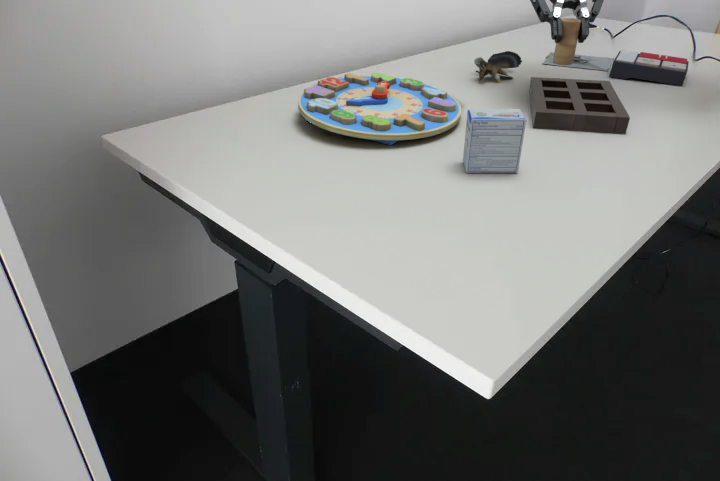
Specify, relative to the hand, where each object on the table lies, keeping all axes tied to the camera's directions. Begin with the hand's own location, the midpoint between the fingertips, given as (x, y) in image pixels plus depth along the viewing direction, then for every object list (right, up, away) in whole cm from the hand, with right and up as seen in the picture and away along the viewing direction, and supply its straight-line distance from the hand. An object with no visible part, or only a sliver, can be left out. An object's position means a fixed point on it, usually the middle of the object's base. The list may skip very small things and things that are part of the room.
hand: (570, 40), depth 96 cm
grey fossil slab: (+12, +9, +39) cm, 42 cm away
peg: (0, -3, +4) cm, 5 cm away
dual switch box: (+28, +2, +28) cm, 40 cm away
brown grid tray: (+3, -11, +8) cm, 14 cm away
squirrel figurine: (-7, 0, +26) cm, 27 cm away
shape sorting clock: (-34, -13, +6) cm, 37 cm away
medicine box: (-18, -25, -14) cm, 33 cm away
